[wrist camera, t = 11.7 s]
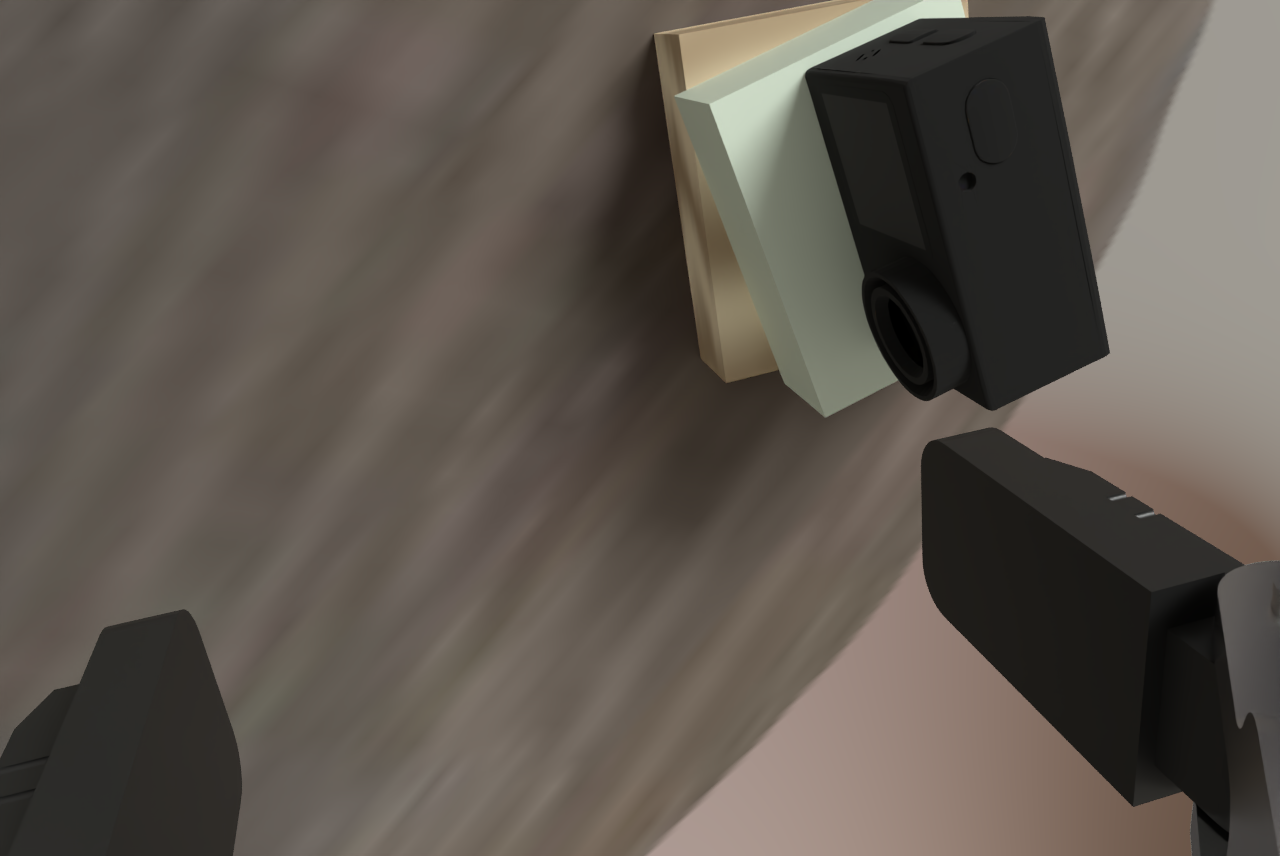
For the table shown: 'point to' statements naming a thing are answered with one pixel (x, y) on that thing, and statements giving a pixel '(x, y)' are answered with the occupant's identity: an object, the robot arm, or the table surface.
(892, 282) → the digital camera
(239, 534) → the table surface
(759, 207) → the block top
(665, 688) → the table surface
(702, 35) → the block bottom
